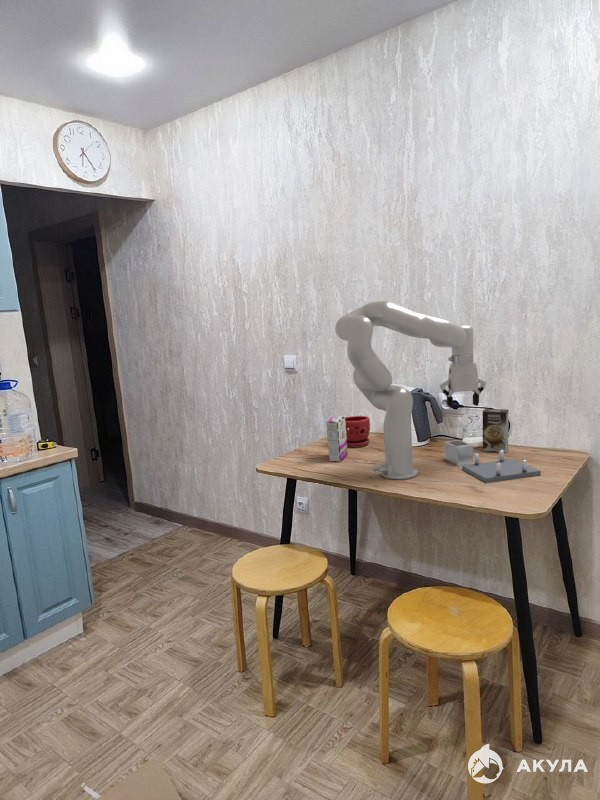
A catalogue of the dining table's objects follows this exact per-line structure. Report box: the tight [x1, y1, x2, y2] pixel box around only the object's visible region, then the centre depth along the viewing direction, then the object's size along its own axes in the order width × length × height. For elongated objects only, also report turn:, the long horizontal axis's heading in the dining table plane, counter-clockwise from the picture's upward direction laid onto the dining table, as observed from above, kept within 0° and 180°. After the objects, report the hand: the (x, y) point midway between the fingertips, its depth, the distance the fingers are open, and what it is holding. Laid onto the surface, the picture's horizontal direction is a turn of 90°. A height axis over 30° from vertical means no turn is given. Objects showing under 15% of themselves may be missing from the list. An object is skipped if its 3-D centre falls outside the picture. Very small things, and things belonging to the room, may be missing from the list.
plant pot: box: [345, 415, 371, 448], centre depth 239 cm, size 13×13×12 cm
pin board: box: [461, 458, 542, 484], centre depth 188 cm, size 20×16×2 cm
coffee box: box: [482, 408, 510, 453], centre depth 214 cm, size 9×6×16 cm
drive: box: [444, 439, 474, 467], centre depth 204 cm, size 6×10×7 cm, turn 12°
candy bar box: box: [325, 415, 349, 463], centre depth 219 cm, size 11×5×16 cm, turn 160°
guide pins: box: [474, 450, 528, 476], centre depth 187 cm, size 11×15×4 cm
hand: (463, 406), depth 201 cm, fingers open, 9 cm apart
